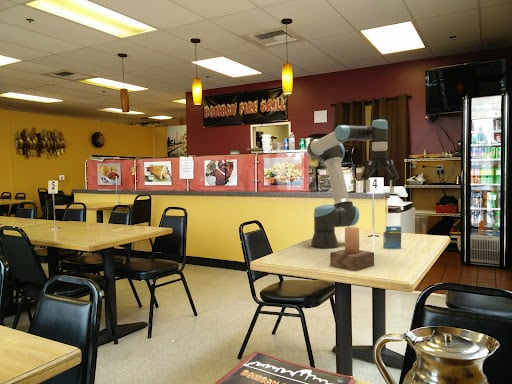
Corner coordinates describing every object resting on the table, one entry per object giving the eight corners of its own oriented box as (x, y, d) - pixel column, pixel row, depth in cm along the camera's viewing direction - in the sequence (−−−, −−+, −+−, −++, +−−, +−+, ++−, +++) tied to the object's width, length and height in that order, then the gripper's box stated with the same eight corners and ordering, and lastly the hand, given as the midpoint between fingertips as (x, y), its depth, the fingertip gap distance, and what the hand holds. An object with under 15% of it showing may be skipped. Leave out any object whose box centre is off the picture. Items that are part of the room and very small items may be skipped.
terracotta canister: (342, 252, 188) (342, 228, 188) (349, 250, 193) (349, 227, 192) (354, 254, 184) (354, 229, 183) (362, 252, 188) (361, 228, 188)
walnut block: (330, 265, 189) (330, 252, 188) (348, 260, 198) (348, 248, 198) (356, 270, 179) (356, 257, 178) (374, 265, 188) (374, 252, 188)
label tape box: (398, 247, 232) (398, 225, 232) (401, 248, 228) (401, 226, 228) (383, 247, 232) (383, 225, 232) (385, 248, 228) (385, 226, 228)
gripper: (406, 149, 202) (406, 193, 204) (362, 152, 221) (362, 191, 222) (399, 149, 197) (398, 193, 198) (354, 151, 216) (354, 192, 217)
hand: (379, 192), depth 210 cm, fingers open, 13 cm apart
